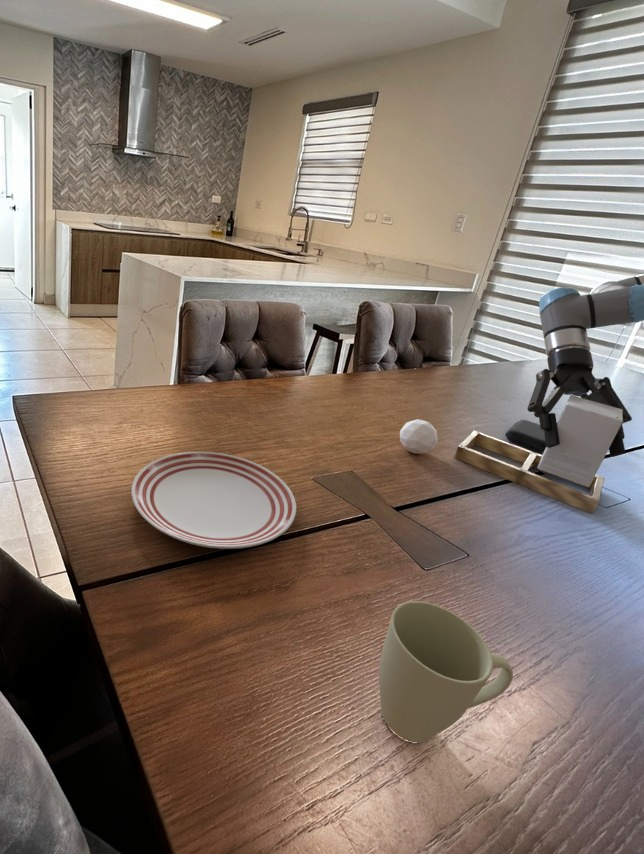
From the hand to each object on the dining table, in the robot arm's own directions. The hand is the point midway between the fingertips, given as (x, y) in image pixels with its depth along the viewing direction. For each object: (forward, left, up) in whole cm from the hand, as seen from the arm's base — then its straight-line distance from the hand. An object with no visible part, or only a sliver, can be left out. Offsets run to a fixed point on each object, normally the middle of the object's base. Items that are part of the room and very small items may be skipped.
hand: (585, 450), depth 94 cm
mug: (+5, +73, -10) cm, 74 cm away
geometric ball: (+28, +10, -10) cm, 31 cm away
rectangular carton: (+2, -2, -7) cm, 7 cm away
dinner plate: (+43, +63, -10) cm, 77 cm away
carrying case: (+10, -24, -10) cm, 28 cm away
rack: (+8, -2, -10) cm, 13 cm away
